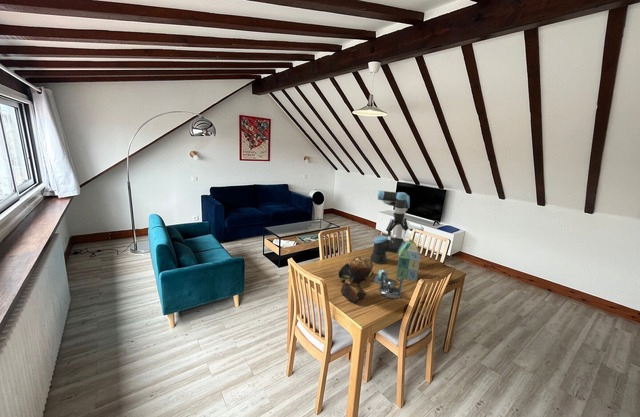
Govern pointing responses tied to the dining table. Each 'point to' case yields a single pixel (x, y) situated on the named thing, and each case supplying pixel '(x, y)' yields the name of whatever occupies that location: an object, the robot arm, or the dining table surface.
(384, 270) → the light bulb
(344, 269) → the mask
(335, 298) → the dining table surface
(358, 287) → the bust
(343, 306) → the dining table surface
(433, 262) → the dining table surface
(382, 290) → the grey metal piece
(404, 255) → the printed tall block
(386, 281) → the coaster
